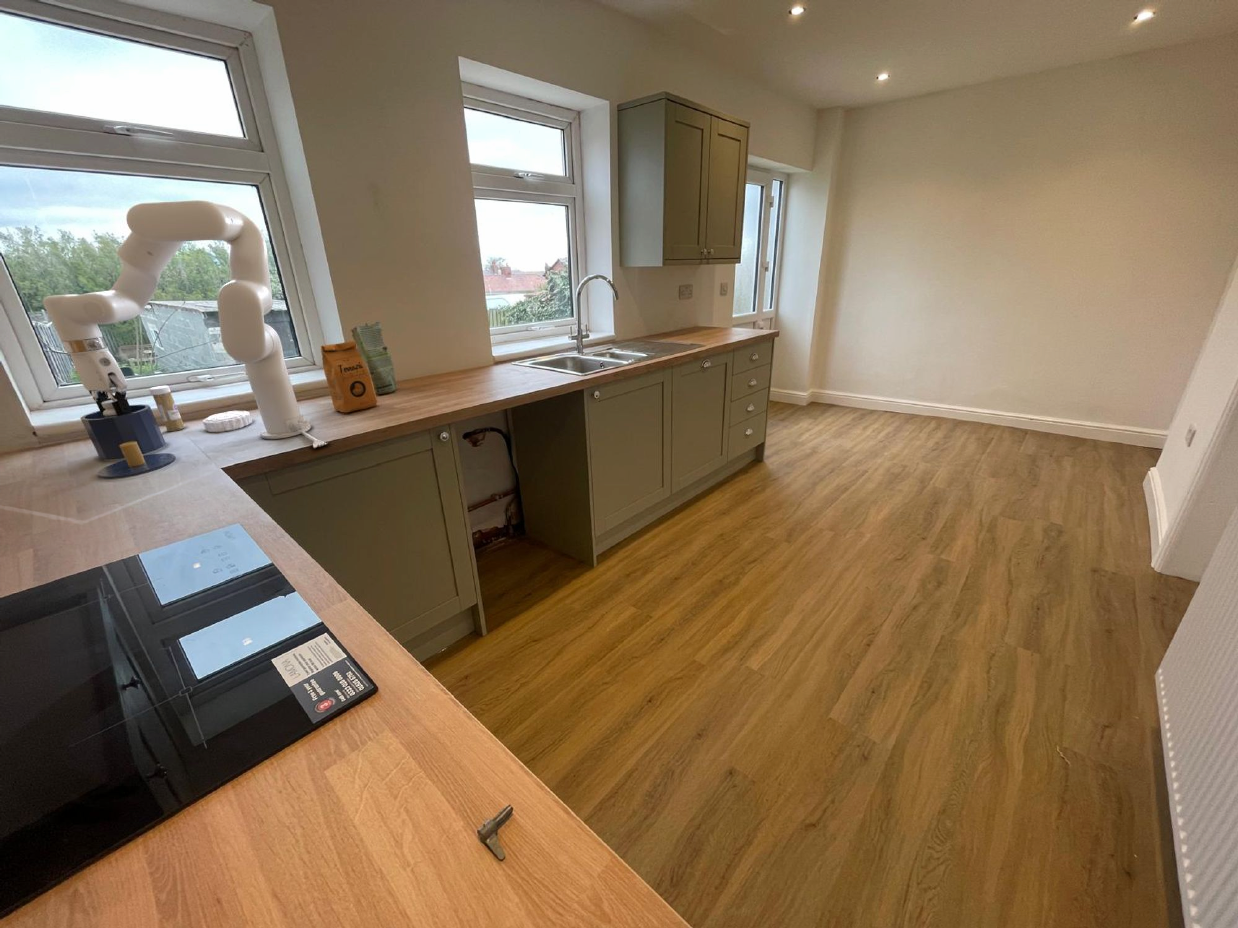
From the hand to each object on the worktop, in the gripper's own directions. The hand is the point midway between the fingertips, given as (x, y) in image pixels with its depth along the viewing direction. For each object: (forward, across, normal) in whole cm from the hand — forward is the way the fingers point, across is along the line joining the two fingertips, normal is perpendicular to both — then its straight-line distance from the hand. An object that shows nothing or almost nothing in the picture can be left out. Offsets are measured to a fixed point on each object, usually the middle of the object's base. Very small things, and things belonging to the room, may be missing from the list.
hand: (117, 414), depth 133 cm
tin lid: (+10, -16, +8) cm, 21 cm away
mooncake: (+11, -5, -23) cm, 26 cm away
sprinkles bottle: (+11, +10, -17) cm, 23 cm away
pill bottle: (+6, 0, 0) cm, 6 cm away
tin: (+11, 0, 0) cm, 11 cm away
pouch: (+11, -25, -67) cm, 72 cm away
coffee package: (+11, -33, -46) cm, 58 cm away
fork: (+11, -45, -18) cm, 50 cm away
